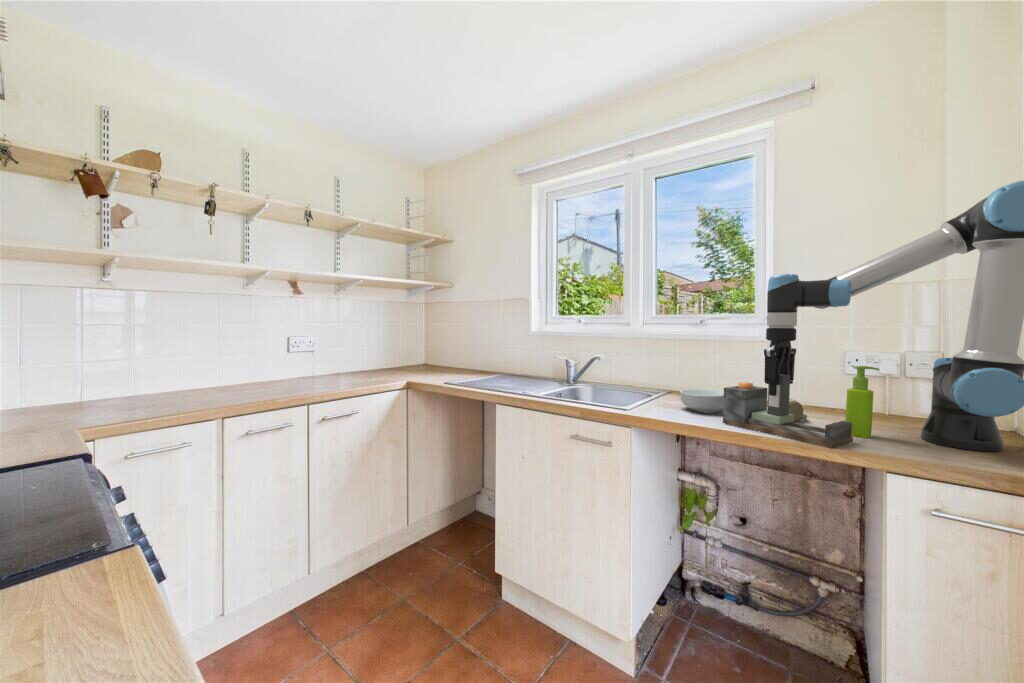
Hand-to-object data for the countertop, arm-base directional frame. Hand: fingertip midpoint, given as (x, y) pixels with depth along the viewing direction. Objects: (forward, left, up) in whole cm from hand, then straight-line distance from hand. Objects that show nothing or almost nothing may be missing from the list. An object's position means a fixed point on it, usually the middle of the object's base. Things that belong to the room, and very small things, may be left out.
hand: (778, 405), depth 125 cm
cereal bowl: (+29, -6, -8) cm, 30 cm away
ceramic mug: (+6, -19, -8) cm, 22 cm away
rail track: (-1, 0, -8) cm, 8 cm away
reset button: (+10, 0, +2) cm, 10 cm away
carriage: (+1, 0, -5) cm, 5 cm away
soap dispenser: (-14, -16, -8) cm, 23 cm away
